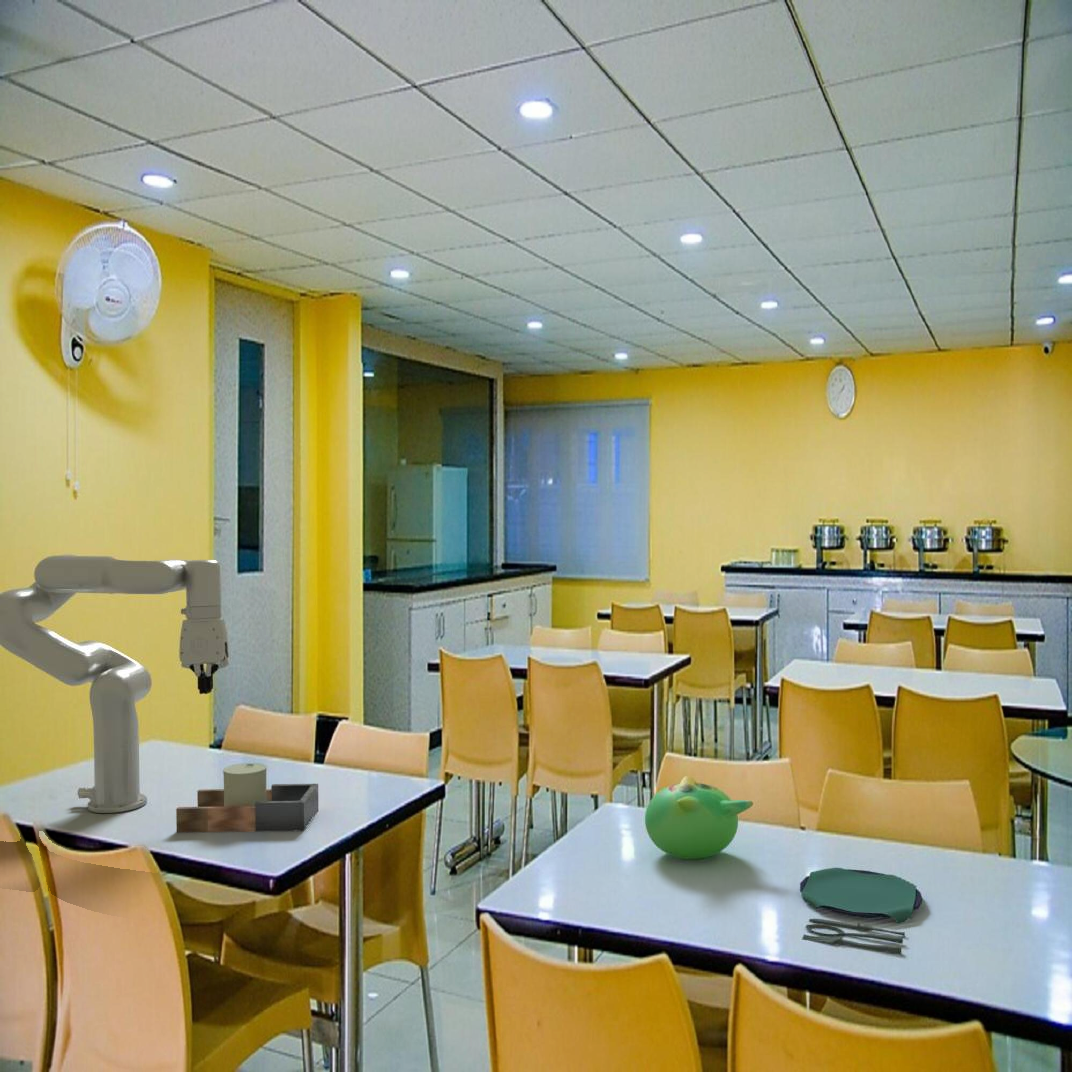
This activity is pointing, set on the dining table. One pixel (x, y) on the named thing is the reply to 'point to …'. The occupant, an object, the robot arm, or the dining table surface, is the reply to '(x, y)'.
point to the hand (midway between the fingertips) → (205, 692)
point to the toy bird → (693, 819)
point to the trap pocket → (287, 808)
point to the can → (244, 784)
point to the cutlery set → (859, 903)
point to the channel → (216, 814)
